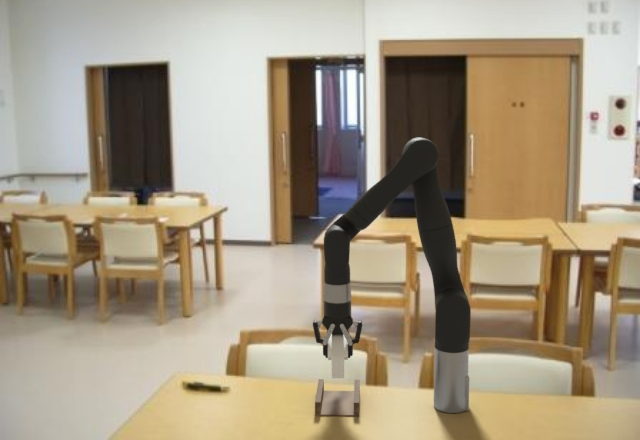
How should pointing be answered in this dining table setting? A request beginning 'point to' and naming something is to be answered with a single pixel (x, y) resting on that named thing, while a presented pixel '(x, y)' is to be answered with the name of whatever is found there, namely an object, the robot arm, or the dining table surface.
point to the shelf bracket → (337, 354)
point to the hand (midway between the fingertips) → (337, 356)
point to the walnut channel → (337, 401)
